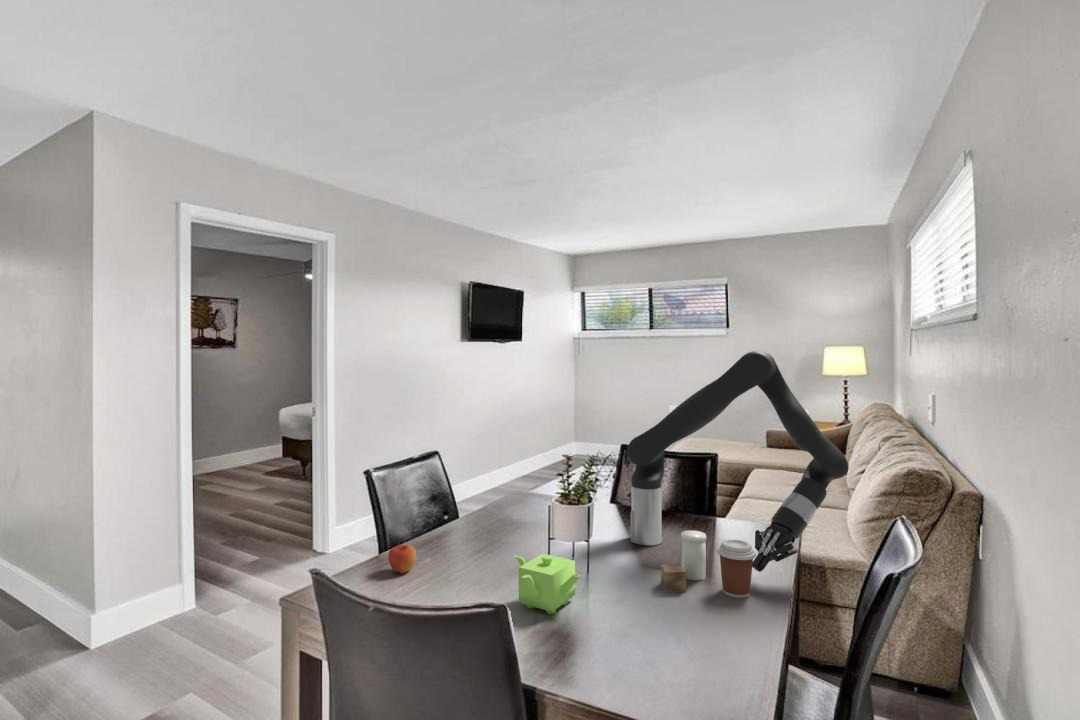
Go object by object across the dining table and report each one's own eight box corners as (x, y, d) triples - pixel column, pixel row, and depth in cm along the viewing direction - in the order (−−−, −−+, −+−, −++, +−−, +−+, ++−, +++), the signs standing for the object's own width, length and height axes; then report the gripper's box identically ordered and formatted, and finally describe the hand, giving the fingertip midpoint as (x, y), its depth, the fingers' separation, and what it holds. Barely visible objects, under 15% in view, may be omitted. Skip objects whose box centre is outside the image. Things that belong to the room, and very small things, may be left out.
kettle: (522, 622, 124) (522, 571, 124) (509, 596, 138) (508, 550, 138) (587, 614, 128) (587, 564, 128) (568, 589, 142) (567, 544, 142)
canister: (681, 579, 147) (681, 537, 147) (681, 570, 154) (681, 529, 153) (706, 581, 146) (706, 539, 146) (706, 572, 152) (705, 531, 152)
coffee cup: (723, 581, 146) (723, 535, 146) (760, 590, 140) (760, 541, 140) (711, 594, 138) (711, 545, 138) (750, 603, 133) (750, 552, 133)
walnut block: (665, 592, 140) (665, 572, 140) (661, 584, 145) (661, 564, 145) (685, 592, 140) (686, 572, 140) (680, 584, 145) (680, 564, 145)
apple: (422, 569, 155) (421, 540, 155) (404, 579, 148) (404, 548, 148) (400, 565, 158) (400, 536, 158) (382, 574, 152) (382, 544, 151)
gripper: (767, 499, 151) (729, 551, 147) (806, 512, 138) (766, 569, 134) (782, 517, 153) (745, 568, 149) (823, 531, 140) (784, 588, 136)
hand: (755, 569), depth 141 cm, fingers closed
